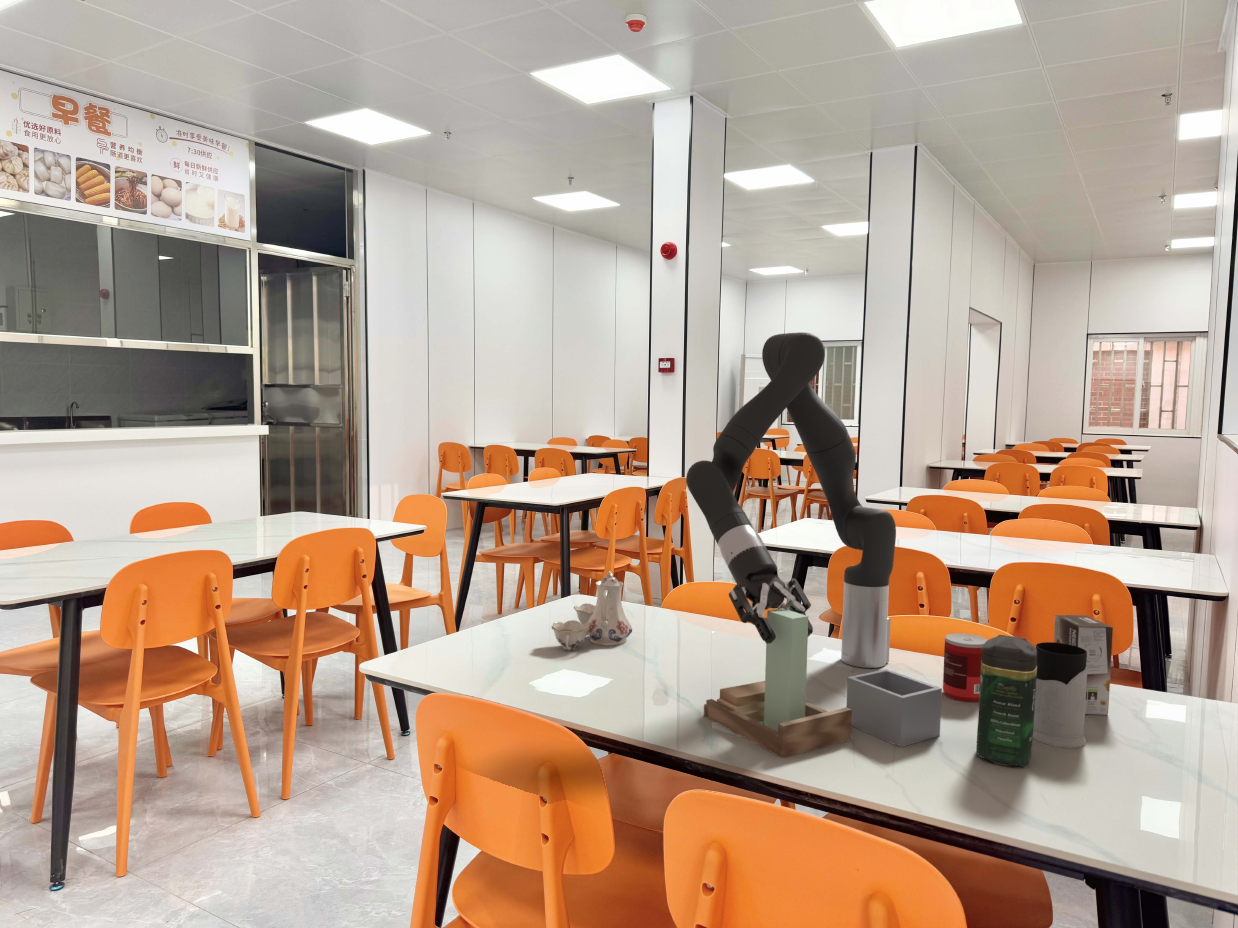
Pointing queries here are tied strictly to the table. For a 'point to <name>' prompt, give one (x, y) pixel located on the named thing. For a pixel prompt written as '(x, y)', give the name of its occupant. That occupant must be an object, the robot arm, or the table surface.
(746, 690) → the offcut stack
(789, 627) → the tall mint green block
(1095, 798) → the table surface
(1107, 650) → the coffee box
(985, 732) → the coffee jar
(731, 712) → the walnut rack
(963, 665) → the canned food
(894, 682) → the grey holder
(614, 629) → the chinaware
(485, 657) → the table surface
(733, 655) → the table surface
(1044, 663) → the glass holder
